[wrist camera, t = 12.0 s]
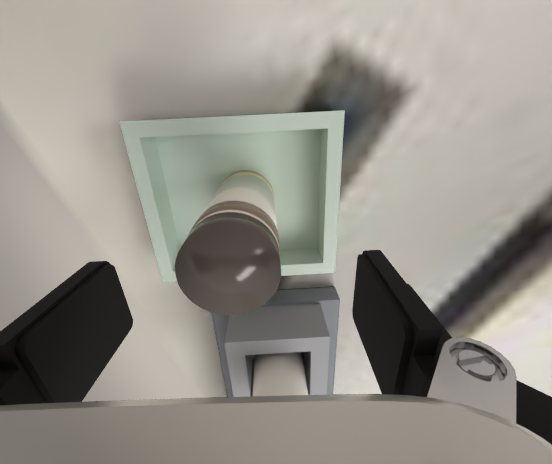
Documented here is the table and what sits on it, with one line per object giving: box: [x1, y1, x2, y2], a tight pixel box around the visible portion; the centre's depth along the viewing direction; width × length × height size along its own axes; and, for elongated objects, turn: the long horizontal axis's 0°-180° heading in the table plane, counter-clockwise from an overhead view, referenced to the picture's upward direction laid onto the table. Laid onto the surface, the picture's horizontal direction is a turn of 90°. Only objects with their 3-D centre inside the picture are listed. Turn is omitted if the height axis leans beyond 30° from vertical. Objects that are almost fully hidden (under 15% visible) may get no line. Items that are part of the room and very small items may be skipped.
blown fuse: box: [175, 170, 281, 315], centre depth 16 cm, size 4×4×11 cm
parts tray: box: [119, 110, 345, 283], centre depth 20 cm, size 14×12×4 cm
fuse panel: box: [212, 287, 340, 397], centre depth 27 cm, size 12×18×6 cm, turn 2°
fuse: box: [253, 352, 308, 396], centre depth 21 cm, size 4×4×11 cm
